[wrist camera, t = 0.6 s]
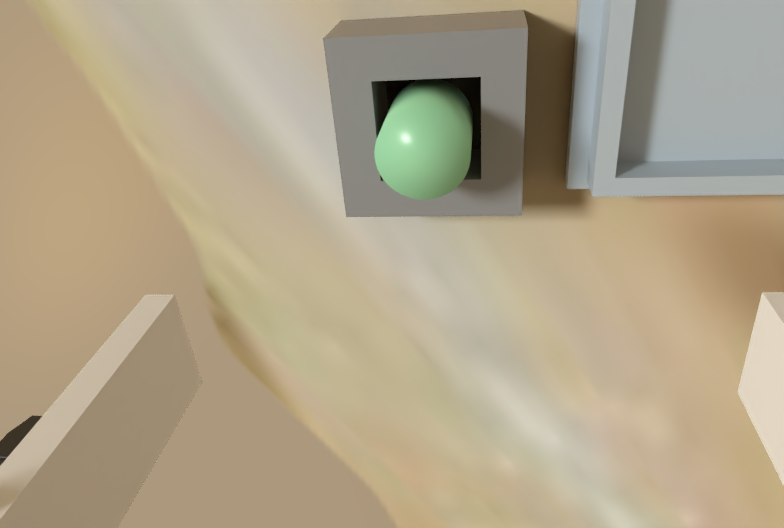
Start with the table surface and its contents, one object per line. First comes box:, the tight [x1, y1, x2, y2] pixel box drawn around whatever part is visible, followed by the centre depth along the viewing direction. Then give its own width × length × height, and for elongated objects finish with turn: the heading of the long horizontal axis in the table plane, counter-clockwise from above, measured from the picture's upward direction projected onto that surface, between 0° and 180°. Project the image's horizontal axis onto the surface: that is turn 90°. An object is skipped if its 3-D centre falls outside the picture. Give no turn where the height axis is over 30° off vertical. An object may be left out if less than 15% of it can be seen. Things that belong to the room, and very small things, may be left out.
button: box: [374, 79, 473, 200], centre depth 29 cm, size 4×4×4 cm
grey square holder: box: [323, 10, 528, 217], centre depth 31 cm, size 9×9×4 cm
